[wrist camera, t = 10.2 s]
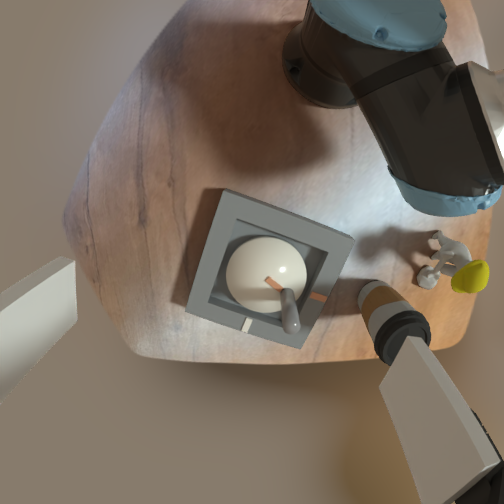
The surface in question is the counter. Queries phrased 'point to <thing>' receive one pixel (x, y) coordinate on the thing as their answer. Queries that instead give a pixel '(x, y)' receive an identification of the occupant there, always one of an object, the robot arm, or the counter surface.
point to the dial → (268, 278)
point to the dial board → (266, 224)
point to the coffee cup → (390, 319)
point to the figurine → (455, 267)
